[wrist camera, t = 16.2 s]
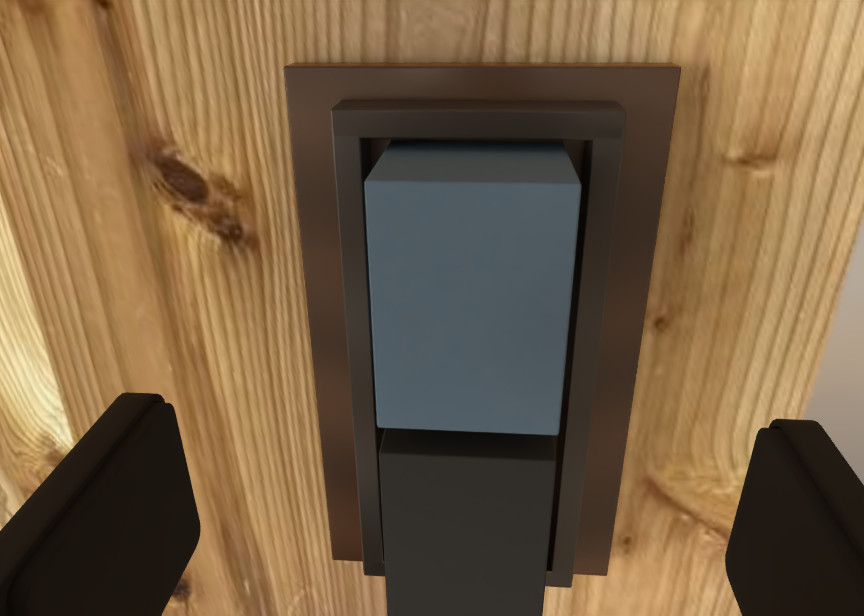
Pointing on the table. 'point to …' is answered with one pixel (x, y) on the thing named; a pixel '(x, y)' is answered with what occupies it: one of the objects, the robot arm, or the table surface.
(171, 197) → the table surface
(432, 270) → the blue-grey rectangular block
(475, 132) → the backing board
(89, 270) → the table surface
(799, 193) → the table surface
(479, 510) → the pad
